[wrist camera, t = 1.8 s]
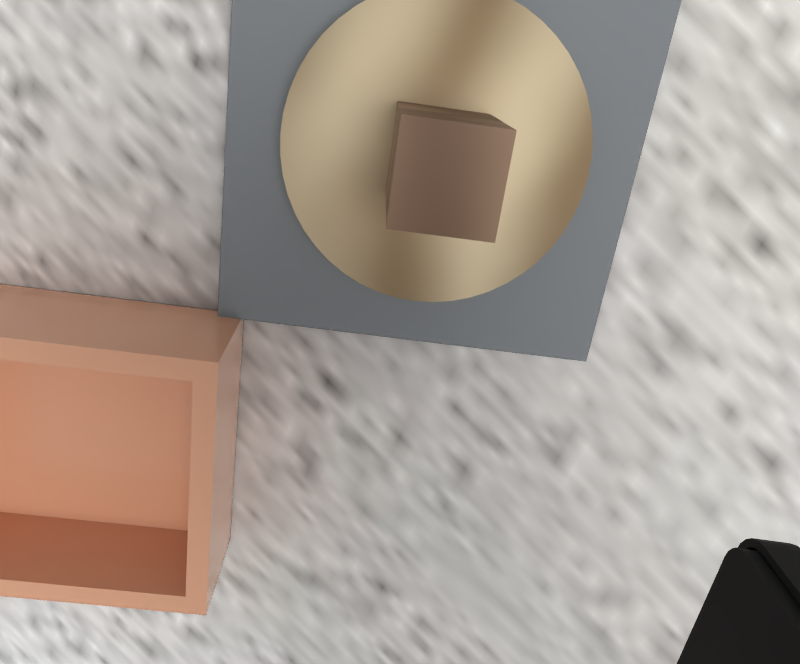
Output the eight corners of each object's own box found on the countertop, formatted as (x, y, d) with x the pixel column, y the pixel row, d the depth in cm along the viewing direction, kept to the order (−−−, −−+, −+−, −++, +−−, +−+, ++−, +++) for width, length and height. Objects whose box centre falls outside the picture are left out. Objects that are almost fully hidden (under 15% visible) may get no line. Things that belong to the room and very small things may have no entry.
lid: (617, 9, 25) (692, -3, 19) (548, 308, 30) (592, 376, 23) (297, -40, 25) (267, -70, 18) (273, 273, 29) (243, 336, 23)
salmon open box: (243, 313, 30) (218, 362, 26) (230, 539, 35) (206, 615, 30) (-45, 278, 29) (-126, 322, 25) (-21, 513, 34) (-85, 588, 29)
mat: (687, -46, 25) (694, -48, 25) (582, 356, 31) (585, 361, 31) (241, -121, 24) (237, -124, 24) (220, 311, 30) (217, 316, 30)
